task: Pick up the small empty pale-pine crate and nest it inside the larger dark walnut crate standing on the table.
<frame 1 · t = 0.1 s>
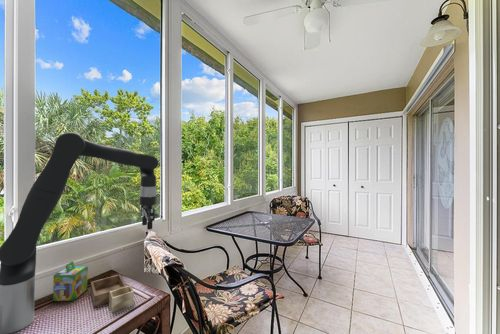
hand: (147, 227, 110), 29 cm above the table, fingers open, 8 cm apart
pine crate: (121, 305, 94), on the table
chalk box: (70, 295, 99), on the table
walnut crate: (108, 294, 101), on the table
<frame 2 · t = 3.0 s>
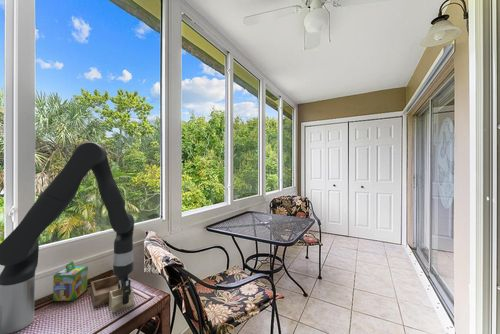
hand: (123, 298, 93), 3 cm above the table, fingers open, 8 cm apart
nothing on the table moved.
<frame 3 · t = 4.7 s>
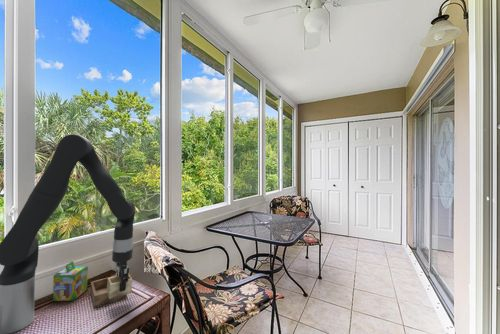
hand: (120, 287, 93), 8 cm above the table, fingers closed on pine crate, 6 cm apart
pine crate: (119, 292, 93), point 6 cm above the table, touching gripper
everything else where it was.
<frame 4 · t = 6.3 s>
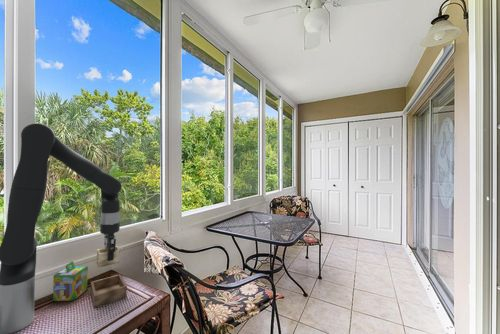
hand: (109, 257, 100), 17 cm above the table, fingers closed on pine crate, 6 cm apart
pine crate: (107, 262, 100), point 15 cm above the table, touching gripper
everything else where it was.
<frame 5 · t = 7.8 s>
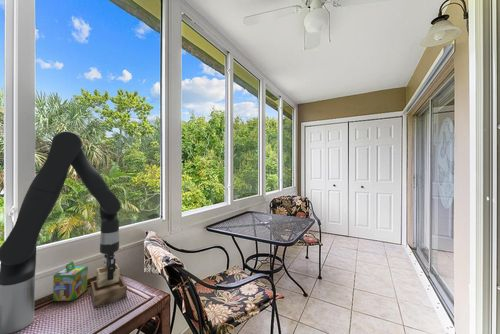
hand: (109, 276, 101), 8 cm above the table, fingers closed on pine crate, 6 cm apart
pine crate: (107, 281, 100), point 6 cm above the table, touching gripper
everything else where it was.
when the fingers open (5 cm above the table, at t = 9.1 s): pine crate drops 2 cm, resting on walnut crate.
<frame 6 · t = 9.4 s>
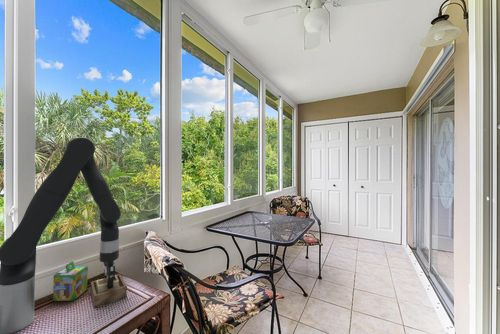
hand: (108, 283, 101), 5 cm above the table, fingers open, 8 cm apart
pine crate: (107, 293, 100), point 1 cm above the table, touching walnut crate
everything else where it was.
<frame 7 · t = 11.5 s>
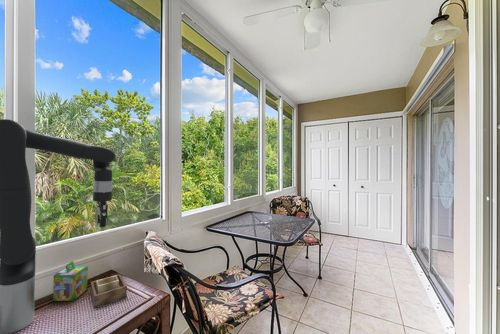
hand: (101, 224, 102), 32 cm above the table, fingers open, 8 cm apart
nothing on the table moved.
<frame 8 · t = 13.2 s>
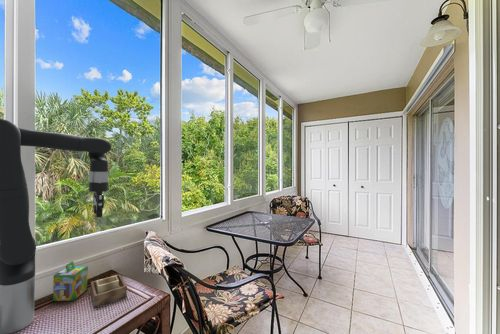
hand: (97, 215, 103), 36 cm above the table, fingers open, 8 cm apart
nothing on the table moved.
at the end: pine crate inside the target area on the walnut crate (0.5 cm from its centre), point 0.8 cm above the walnut crate's base; pine crate tilted 0°; the gripper is holding nothing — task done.
